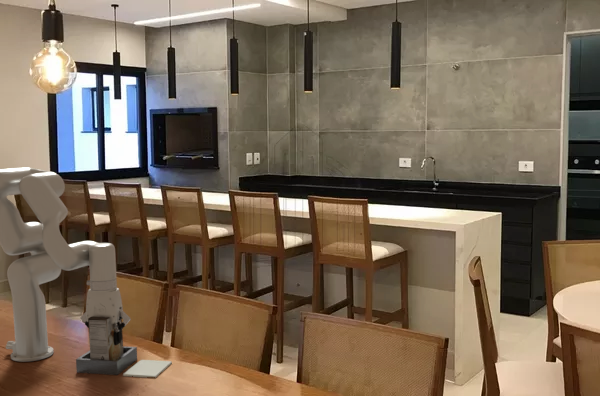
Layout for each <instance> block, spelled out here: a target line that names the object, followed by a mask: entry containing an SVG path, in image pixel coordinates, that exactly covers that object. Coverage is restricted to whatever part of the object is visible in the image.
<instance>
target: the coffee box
mask: <svg viewBox="0 0 600 396" xmlns="http://www.w3.org/2000/svg"><path fill="white" fill-rule="evenodd" d="M120 322H121V323H122V322H123V319H122V320H120ZM88 325H89V328H88V339H89V351H90V358H91V359H101V360H116V359H118V358H119V357H121V356H122V355H123V354H124V352H123V346H124V340H123V339H124V337H123V336H124V333H123V329H122V330H121V334H122V340H121V343H119V344H118V345H114V332H115V329H114V327H113V324H111V321H110V318H109V317H90V318H88Z"/></svg>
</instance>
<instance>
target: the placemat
mask: <svg viewBox="0 0 600 396" xmlns="http://www.w3.org/2000/svg"><path fill="white" fill-rule="evenodd" d="M172 363H173V362H172V361H171V360H153V359H140V360H139V361H138V362H136V363H135V364H134V365H133V366H131V367H130V368H128V369H127V370H126V371H125V372H123V374H122V377H132V376H133V377H134V378H147V377H155V378H154V379H156V378H157V377H159V374H160V373H161V372H162V373H163V372H164V371H165V370H166V369H167V368H168V367H170V366H171V365H172ZM162 373H161V374H162ZM161 374H160V375H161Z"/></svg>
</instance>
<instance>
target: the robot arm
mask: <svg viewBox="0 0 600 396" xmlns="http://www.w3.org/2000/svg"><path fill="white" fill-rule="evenodd" d="M65 187H66V185H65V181H64V180H63V178H62V176H60V174H57V172H54V171H50V170H49V171H48V170H43V169H38V168H32V167H27V166H25V167H22V166H21V167H10V168H7V167H6V168H0V247H1V248H2V251H3V252H4V253H5V254H6V255H8V256H19V255H24V254H26V253H27V254H28V253H30V255H28V256H25V257H20V258H18V259H15V260H14V261H12V263H11V264H10V265H9V266H8V268H7V273H6V276H7V281H8V284H9V289H10V292H11V299H12V311H13V312H12V313H13V325H14V329H13V330H14V340H8V341H7V342H6V344H5V349H6V350H12V352H11V354H10V359H11V360H12V361H15V362H19V363H22V362H23V363H26V362H27V363H28V362H34V361H40V360H44V359H46V358H50V357H51V356H52V355H53V354H54V353H55V352H54V350H55V349H54V348H53V347H52V346H49V339H48V324H47V308H46V307H47V306H46V298H45V295H44V293H43V291H42V289H41V287H40V285H42V284H45V283H48V282H51V281H54V280H56V279H58V277H60V275H61V273H62V270H63V271H67V272H68V271H73V270H77V269H80V268H85V267H87V266H89V280H87V281H86V285H87V286H89V289H87V293H86V301H85V304H86V305H85V312H84V313H83V314H82V315H81V316H80V320H81V321H82V322H83V323H84V324H85V326H86V327H87V328H88V329H89V325H88V318H90V317H109V318H110V321H111V324H113V327H114V329H115V332H114V345H118V344H119V343H121V340H122V334H123V333H122V334H121V330H122V331H123V329H124V328H125V327H126V325H128V323H129V322H130V321H131V317H130V316H129V315H128V314H127V313H126V312H125V311H124V310H123V300H122V295H121V291H120V288H119V287H118V284H117V283H118V282H117V262H116V261H117V260H116V258H117V257H116V248H115V245H114V244H113V243H110V242H97V241H94V240H82V241H77V242H73V243H69V244H68V243H67V241H66V239H65V238H64V237H63V236H62V233H61V231H60V223H62V222H63V221H64V220H65V219H66V217H67V216H68V213H69V210H68V207H66V205H65V204H64V202H63V200H62V199H61V198H60V197H61V196H63V194H64V192H65V190H66V188H65ZM16 195H22V197H23V199H24V200H25V202H26V203H27V204H28V206H29V207H30V209H31V210H32V212H33V214H34V215H35V217H36V218H37V219H38V220H39V221H40V222H38V221H29V222H24V220H23V217H21V214H20V211H19V209H18V208H17V206H16V205H15V204H14V203H13V202H12V201H11V200H10V199H9V198H8V196H16ZM120 320H122V323H121V322H120Z"/></svg>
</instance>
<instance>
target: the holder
mask: <svg viewBox="0 0 600 396" xmlns="http://www.w3.org/2000/svg"><path fill="white" fill-rule="evenodd" d="M123 352H124V354H123V355H122V356H121V357H119V358H118V359H116V360H101V359H91V358H90V350H88V351H87V352H85V353H83V354H82V355H80V356H79V357H77V358H76V359H75V362H76V363H75V364H76V365H75V369H76V373H79V374H80V373H81V374H92V375H93V374H95V375H97V374H99V375H112V376H118V375H120V374H121V373H122V372H123V371H125V370H126V369H127V368H128V367H130V366H131V365H133V364H134V363H135V362H136V361H138V347H137V346H127V345H125V346H124V345H123Z"/></svg>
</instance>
